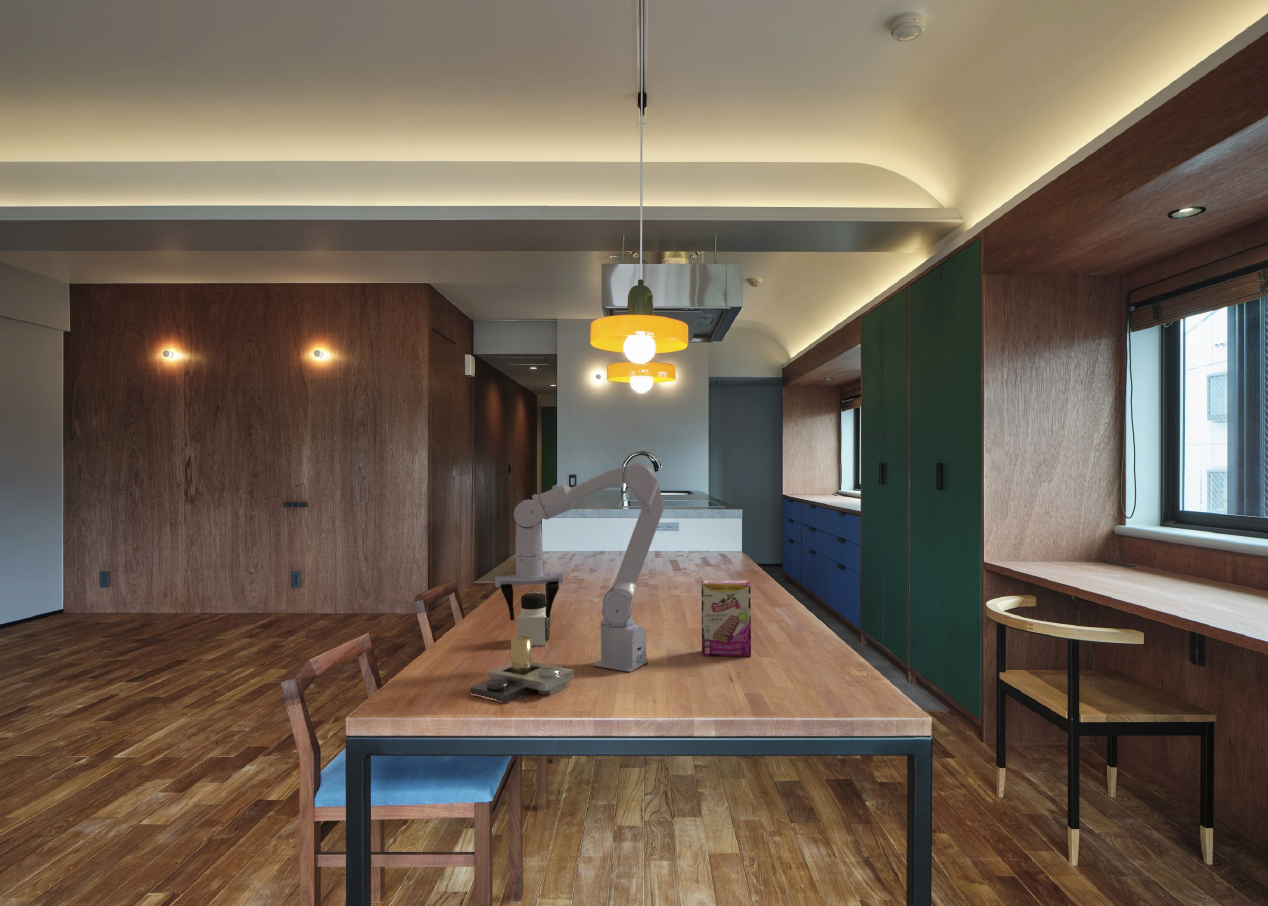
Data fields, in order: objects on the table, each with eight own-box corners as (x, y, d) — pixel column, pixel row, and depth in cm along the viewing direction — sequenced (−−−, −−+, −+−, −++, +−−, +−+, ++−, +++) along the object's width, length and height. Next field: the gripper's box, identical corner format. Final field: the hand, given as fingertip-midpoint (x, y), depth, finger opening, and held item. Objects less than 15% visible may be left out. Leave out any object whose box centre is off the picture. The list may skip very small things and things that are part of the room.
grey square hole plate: (489, 687, 126) (488, 668, 126) (519, 674, 134) (519, 656, 134) (545, 699, 119) (545, 678, 119) (574, 684, 126) (573, 665, 127)
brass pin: (536, 682, 128) (535, 637, 128) (523, 688, 125) (522, 642, 125) (520, 679, 130) (520, 635, 130) (507, 685, 127) (506, 639, 127)
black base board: (519, 674, 134) (519, 663, 134) (553, 681, 129) (553, 669, 129) (470, 695, 121) (470, 683, 122) (506, 703, 117) (506, 690, 117)
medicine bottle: (546, 646, 155) (545, 596, 155) (516, 646, 155) (516, 596, 156) (550, 638, 162) (550, 590, 163) (522, 638, 162) (521, 591, 163)
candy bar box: (702, 656, 144) (700, 583, 145) (701, 650, 149) (700, 579, 150) (752, 657, 143) (750, 583, 143) (750, 651, 148) (749, 579, 148)
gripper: (559, 551, 145) (560, 611, 145) (494, 554, 142) (495, 616, 141) (564, 555, 139) (565, 618, 138) (495, 558, 135) (496, 623, 135)
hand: (530, 618), depth 139 cm, fingers open, 7 cm apart
